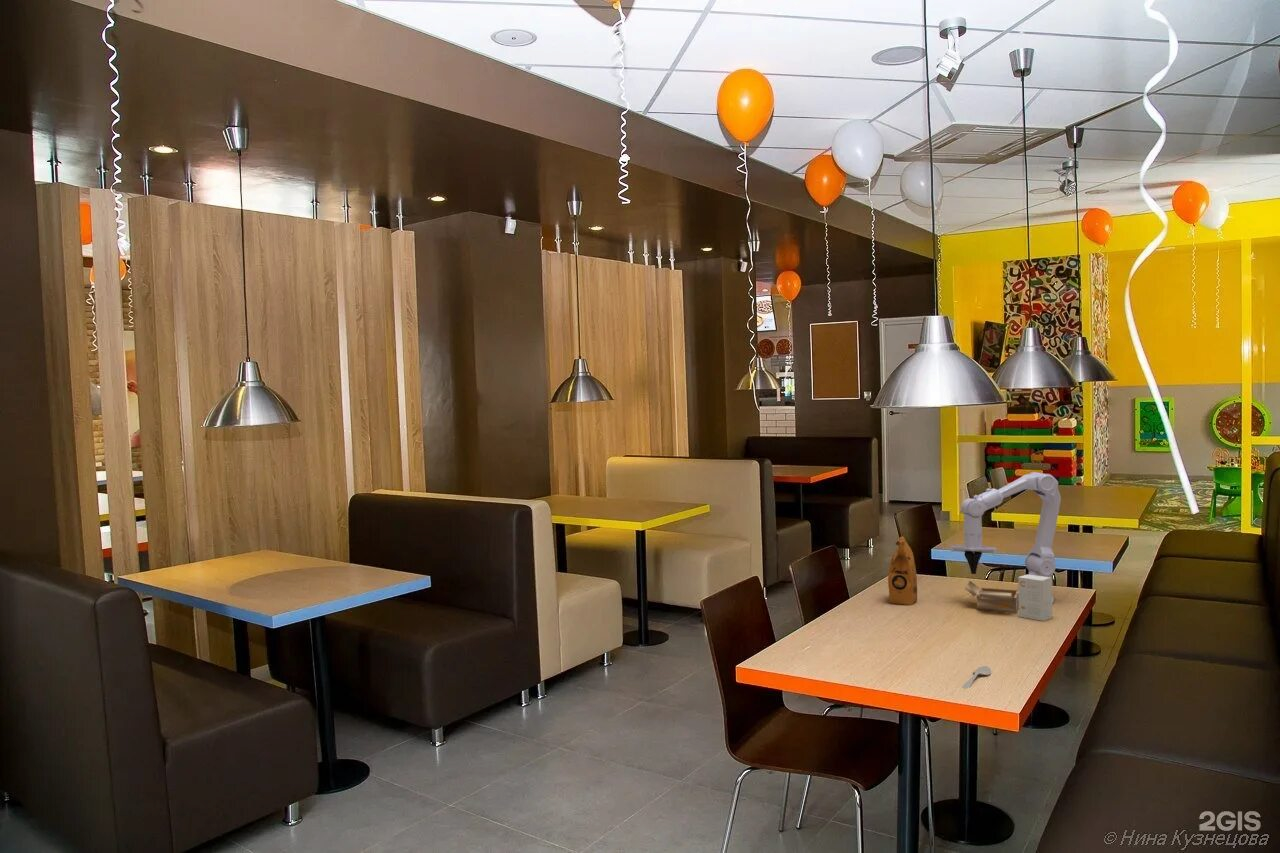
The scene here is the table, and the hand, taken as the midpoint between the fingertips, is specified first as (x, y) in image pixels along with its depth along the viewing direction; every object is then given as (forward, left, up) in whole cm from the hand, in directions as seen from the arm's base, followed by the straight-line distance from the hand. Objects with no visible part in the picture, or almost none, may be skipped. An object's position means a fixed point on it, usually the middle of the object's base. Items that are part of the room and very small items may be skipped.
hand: (973, 573), depth 298 cm
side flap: (+3, 0, -4) cm, 5 cm away
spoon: (+83, +10, -11) cm, 85 cm away
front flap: (+11, +8, -4) cm, 14 cm away
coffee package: (+5, -23, -11) cm, 26 cm away
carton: (+3, +8, -10) cm, 13 cm away
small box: (+12, +20, -11) cm, 26 cm away
